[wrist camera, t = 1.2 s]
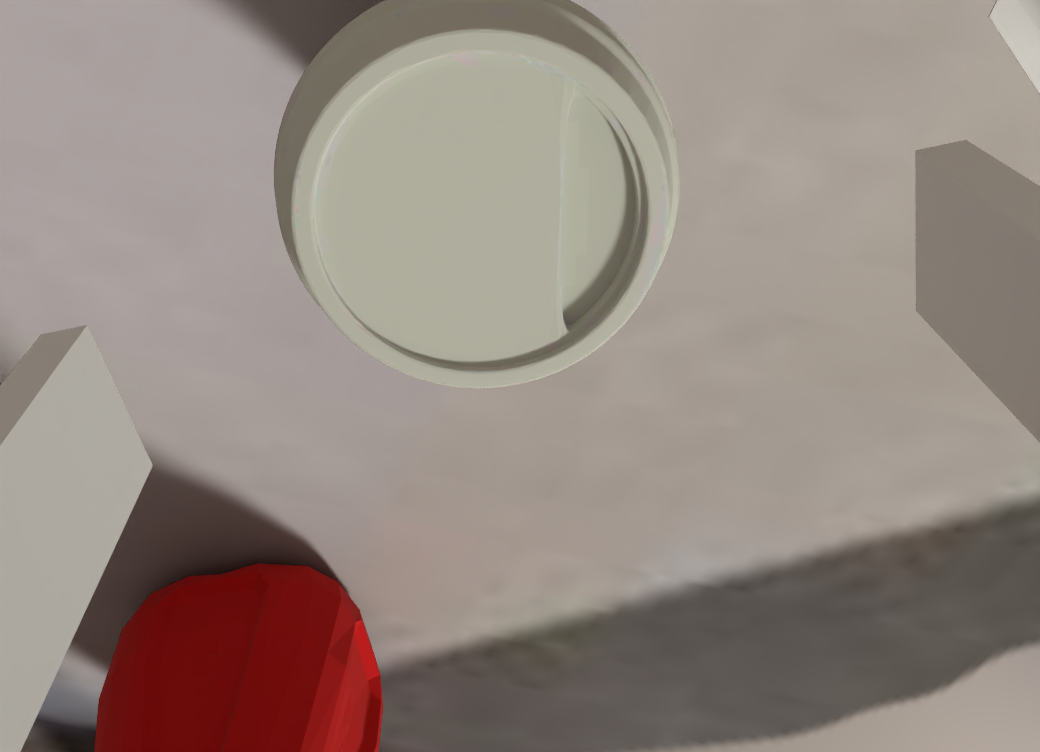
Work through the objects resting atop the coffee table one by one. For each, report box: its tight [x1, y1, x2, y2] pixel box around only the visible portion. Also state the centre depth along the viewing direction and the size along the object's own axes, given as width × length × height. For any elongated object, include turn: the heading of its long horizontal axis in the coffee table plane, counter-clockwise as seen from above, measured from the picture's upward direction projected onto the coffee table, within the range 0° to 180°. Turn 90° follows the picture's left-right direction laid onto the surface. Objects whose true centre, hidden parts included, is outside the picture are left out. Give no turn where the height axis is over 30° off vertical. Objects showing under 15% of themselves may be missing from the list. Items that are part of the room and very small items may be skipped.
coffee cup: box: [274, 0, 679, 388], centre depth 25 cm, size 8×9×12 cm
